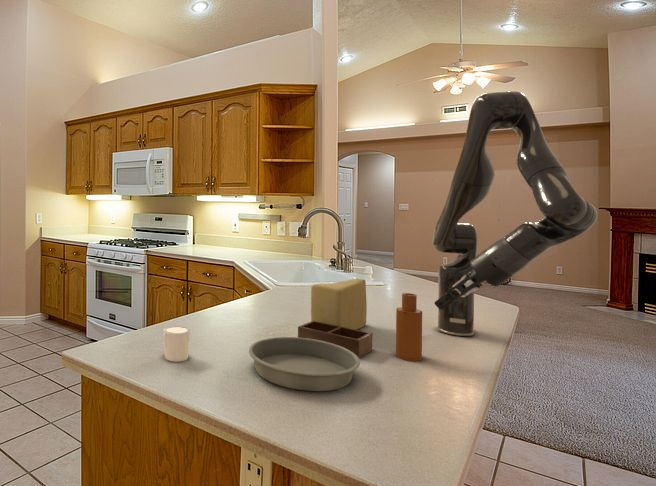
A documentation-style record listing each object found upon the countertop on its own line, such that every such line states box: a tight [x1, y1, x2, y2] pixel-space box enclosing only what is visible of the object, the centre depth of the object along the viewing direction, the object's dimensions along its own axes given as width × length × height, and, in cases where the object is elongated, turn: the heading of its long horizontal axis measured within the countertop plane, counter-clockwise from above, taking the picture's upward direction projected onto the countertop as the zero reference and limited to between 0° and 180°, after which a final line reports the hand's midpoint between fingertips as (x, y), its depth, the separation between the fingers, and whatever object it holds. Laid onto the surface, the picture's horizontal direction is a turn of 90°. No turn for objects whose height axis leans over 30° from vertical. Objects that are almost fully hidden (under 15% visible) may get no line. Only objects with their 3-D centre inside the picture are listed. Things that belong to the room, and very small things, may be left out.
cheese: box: [310, 278, 368, 330], centre depth 137 cm, size 22×10×15 cm, turn 128°
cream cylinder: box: [162, 325, 191, 363], centre depth 112 cm, size 7×7×7 cm
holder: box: [297, 321, 373, 359], centre depth 122 cm, size 9×17×5 cm, turn 46°
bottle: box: [395, 292, 423, 362], centre depth 114 cm, size 6×6×16 cm
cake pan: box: [248, 336, 361, 392], centre depth 103 cm, size 25×25×4 cm
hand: (442, 303), depth 109 cm, fingers open, 8 cm apart
